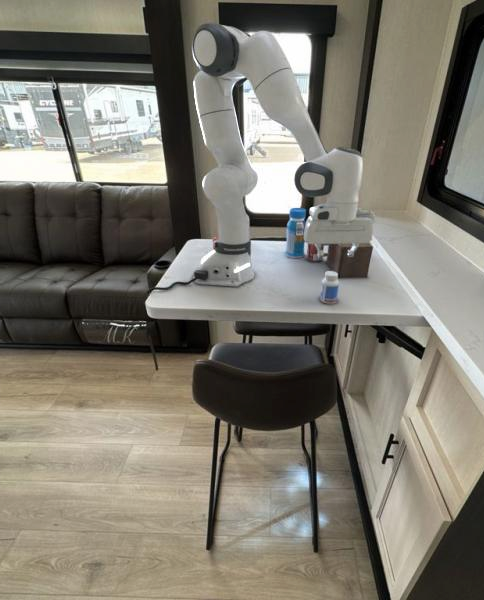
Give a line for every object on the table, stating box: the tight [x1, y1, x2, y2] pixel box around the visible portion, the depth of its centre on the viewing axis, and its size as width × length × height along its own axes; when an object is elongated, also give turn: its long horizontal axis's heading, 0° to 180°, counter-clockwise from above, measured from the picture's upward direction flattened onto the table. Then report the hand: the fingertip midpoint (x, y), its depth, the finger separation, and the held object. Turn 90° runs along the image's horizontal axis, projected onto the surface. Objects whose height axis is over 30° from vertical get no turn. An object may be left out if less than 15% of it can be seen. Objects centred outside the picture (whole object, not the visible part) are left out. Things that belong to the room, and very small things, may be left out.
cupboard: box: [338, 242, 374, 279], centre depth 121 cm, size 11×16×13 cm
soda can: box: [306, 244, 325, 263], centre depth 129 cm, size 7×7×12 cm
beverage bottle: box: [285, 207, 307, 259], centre depth 131 cm, size 8×8×20 cm
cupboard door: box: [319, 244, 343, 279], centre depth 120 cm, size 5×16×12 cm, turn 5°
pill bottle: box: [320, 270, 340, 305], centre depth 99 cm, size 6×5×10 cm
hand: (335, 256), depth 94 cm, fingers open, 8 cm apart
